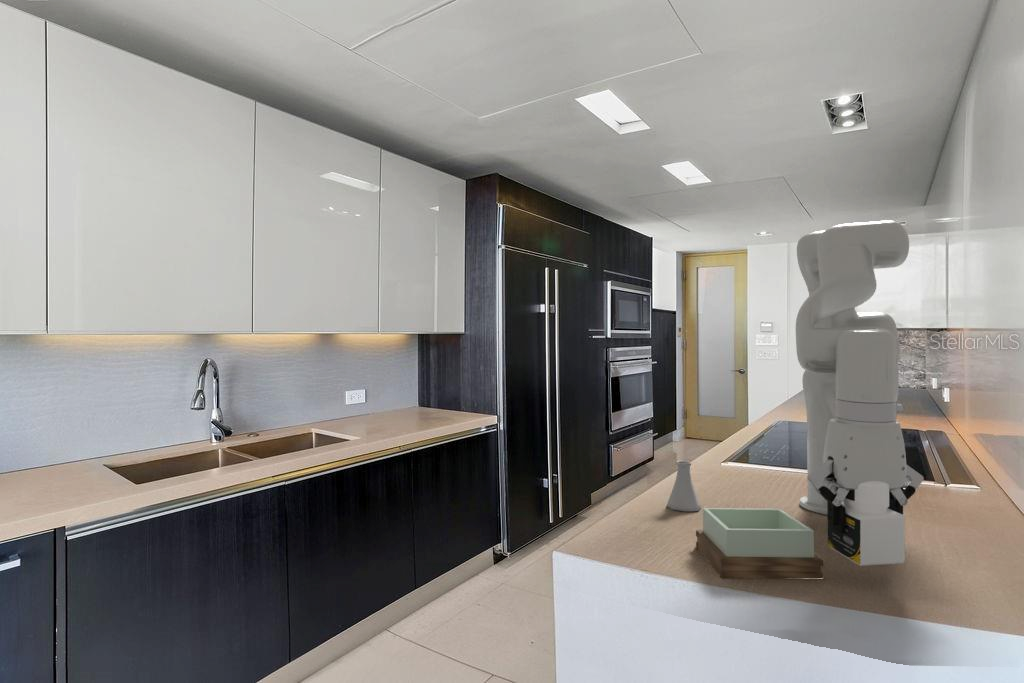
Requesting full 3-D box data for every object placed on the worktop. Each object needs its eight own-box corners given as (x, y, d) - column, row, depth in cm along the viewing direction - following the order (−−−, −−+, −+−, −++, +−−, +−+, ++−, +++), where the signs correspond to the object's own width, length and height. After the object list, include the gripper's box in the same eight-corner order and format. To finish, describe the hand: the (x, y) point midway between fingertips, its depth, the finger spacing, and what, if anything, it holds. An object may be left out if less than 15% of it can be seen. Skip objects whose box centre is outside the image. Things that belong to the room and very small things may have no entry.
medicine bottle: (826, 546, 85) (826, 470, 85) (869, 544, 86) (869, 468, 85) (859, 566, 78) (859, 483, 77) (906, 564, 78) (906, 481, 78)
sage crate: (779, 532, 94) (779, 508, 94) (813, 557, 83) (813, 530, 83) (703, 531, 95) (702, 508, 95) (726, 556, 84) (726, 529, 84)
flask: (703, 513, 115) (703, 466, 115) (667, 511, 116) (667, 464, 116) (698, 504, 122) (698, 459, 122) (665, 502, 123) (665, 458, 123)
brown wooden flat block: (783, 548, 95) (783, 531, 95) (823, 579, 82) (823, 559, 82) (695, 547, 96) (695, 530, 96) (721, 578, 83) (721, 558, 83)
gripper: (907, 407, 85) (906, 520, 85) (793, 409, 85) (793, 520, 86) (944, 415, 77) (943, 539, 78) (819, 417, 78) (819, 539, 78)
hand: (864, 528), depth 82 cm, fingers closed on medicine bottle, 7 cm apart
